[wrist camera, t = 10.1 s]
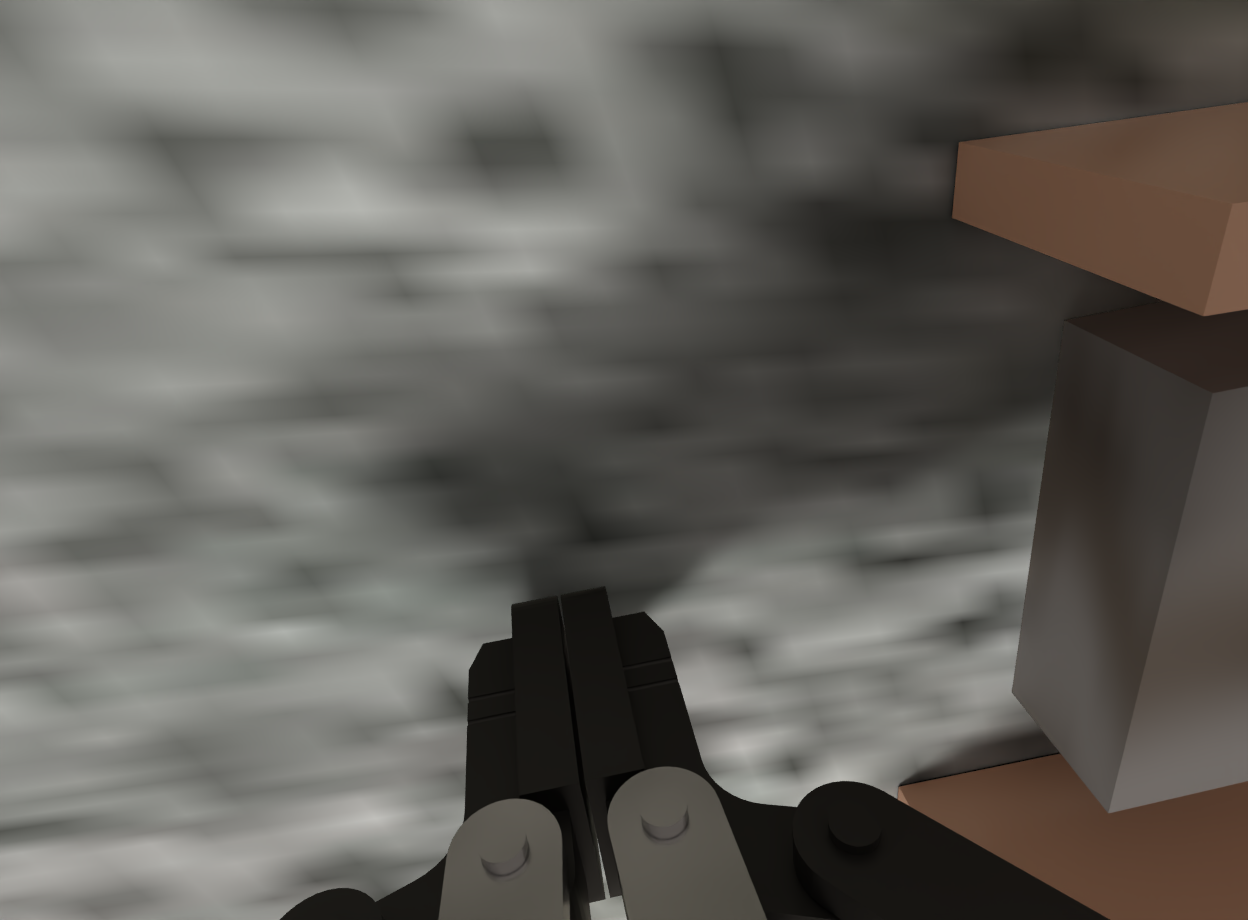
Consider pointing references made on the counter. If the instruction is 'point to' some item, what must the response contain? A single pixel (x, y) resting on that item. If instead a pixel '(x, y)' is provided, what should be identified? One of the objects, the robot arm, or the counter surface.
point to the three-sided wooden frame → (1196, 281)
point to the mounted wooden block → (1143, 557)
